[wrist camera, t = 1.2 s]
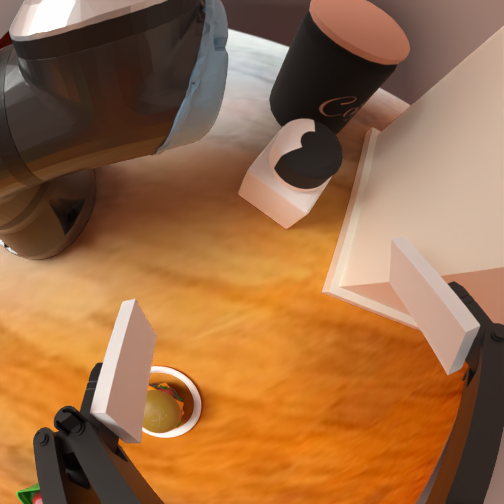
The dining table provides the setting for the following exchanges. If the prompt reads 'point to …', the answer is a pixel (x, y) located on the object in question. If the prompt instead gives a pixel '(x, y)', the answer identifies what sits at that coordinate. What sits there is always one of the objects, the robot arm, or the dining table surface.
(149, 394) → the hamburger
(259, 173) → the medicine bottle
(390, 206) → the plinth
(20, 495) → the fruit basket
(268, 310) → the dining table surface
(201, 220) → the dining table surface
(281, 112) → the coffee jar
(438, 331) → the robot arm
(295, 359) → the dining table surface
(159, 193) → the dining table surface
